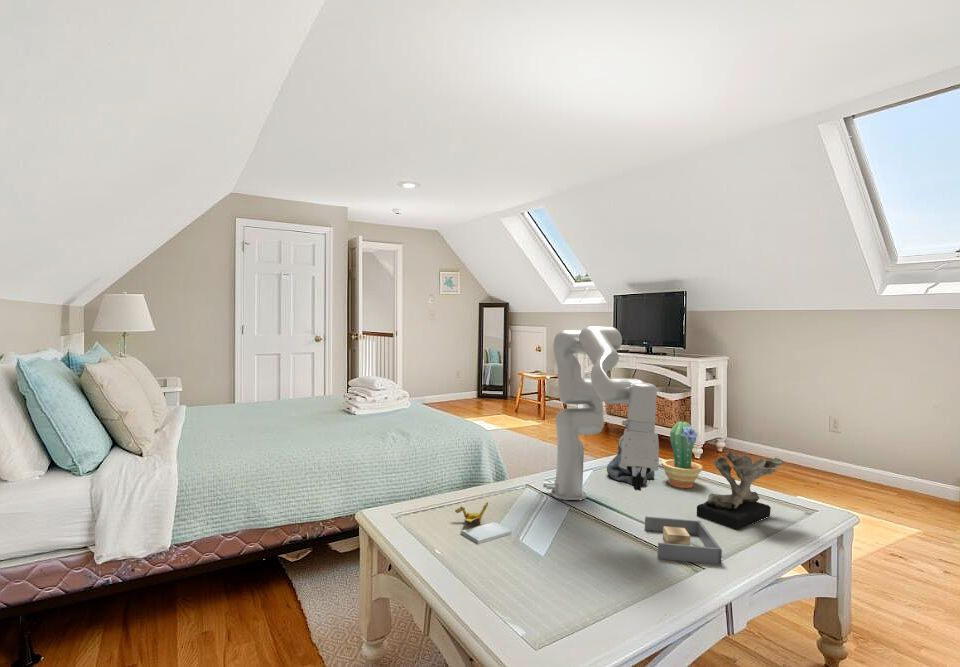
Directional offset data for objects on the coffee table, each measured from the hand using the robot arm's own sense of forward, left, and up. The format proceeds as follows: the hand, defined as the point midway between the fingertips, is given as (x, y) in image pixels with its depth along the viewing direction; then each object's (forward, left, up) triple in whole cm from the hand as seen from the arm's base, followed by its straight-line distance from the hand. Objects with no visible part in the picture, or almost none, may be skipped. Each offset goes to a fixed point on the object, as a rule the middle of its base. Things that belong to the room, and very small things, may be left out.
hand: (637, 488), depth 147 cm
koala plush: (+7, +63, -15) cm, 66 cm away
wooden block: (+11, 0, -15) cm, 19 cm away
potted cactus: (+27, +60, -15) cm, 68 cm away
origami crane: (-48, +2, -15) cm, 50 cm away
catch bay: (+12, -1, -15) cm, 19 cm away
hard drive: (-43, -5, -16) cm, 46 cm away
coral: (+39, +26, -15) cm, 50 cm away
